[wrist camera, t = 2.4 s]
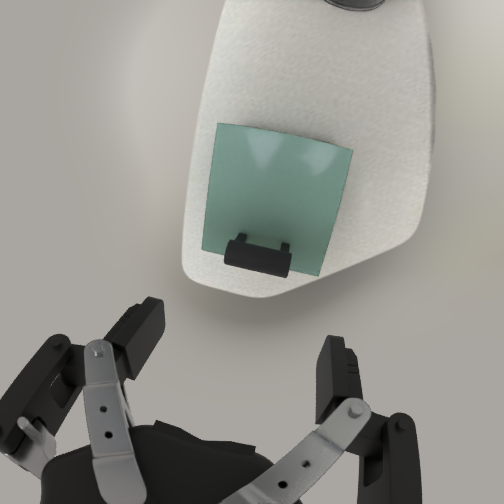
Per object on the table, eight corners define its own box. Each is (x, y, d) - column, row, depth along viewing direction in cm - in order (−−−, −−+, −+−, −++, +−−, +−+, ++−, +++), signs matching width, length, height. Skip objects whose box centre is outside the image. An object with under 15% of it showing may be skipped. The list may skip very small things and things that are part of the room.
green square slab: (317, 272, 23) (320, 304, 19) (204, 246, 24) (183, 272, 20) (351, 149, 19) (365, 154, 14) (220, 123, 20) (198, 121, 15)
